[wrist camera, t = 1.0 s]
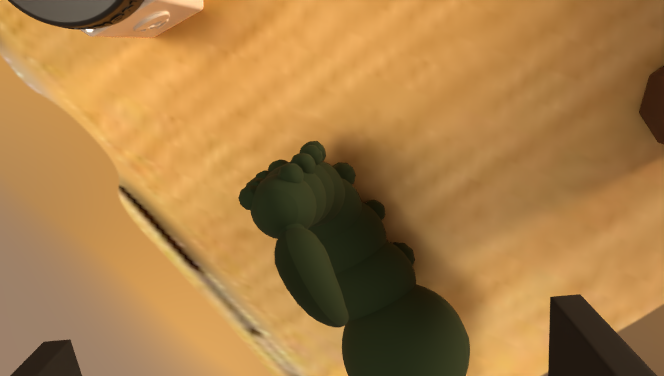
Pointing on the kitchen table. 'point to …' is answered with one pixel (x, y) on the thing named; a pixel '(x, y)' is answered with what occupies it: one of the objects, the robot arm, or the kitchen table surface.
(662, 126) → the beer bottle
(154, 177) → the kitchen table surface
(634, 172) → the kitchen table surface
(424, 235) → the kitchen table surface
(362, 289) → the toy figurine
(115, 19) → the jar
